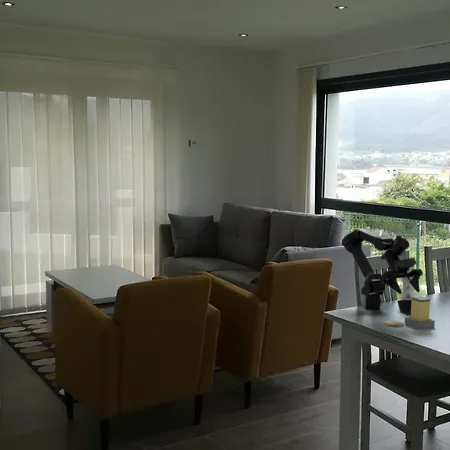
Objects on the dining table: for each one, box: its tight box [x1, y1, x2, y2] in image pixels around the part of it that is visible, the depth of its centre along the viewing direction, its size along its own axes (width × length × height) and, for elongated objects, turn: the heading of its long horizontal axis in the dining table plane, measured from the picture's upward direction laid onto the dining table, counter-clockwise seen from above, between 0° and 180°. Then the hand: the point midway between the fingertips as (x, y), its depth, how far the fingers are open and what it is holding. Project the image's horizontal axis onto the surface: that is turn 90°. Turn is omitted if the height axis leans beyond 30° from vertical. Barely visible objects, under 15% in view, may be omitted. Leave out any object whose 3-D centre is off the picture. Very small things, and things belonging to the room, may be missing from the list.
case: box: [404, 316, 436, 330], centre depth 249 cm, size 17×8×4 cm, turn 23°
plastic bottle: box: [400, 266, 415, 300], centre depth 275 cm, size 6×7×20 cm
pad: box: [383, 320, 405, 328], centre depth 246 cm, size 8×8×1 cm
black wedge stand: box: [397, 299, 412, 317], centre depth 265 cm, size 12×7×10 cm
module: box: [411, 296, 431, 322], centre depth 244 cm, size 5×5×12 cm
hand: (410, 292), depth 250 cm, fingers open, 9 cm apart
